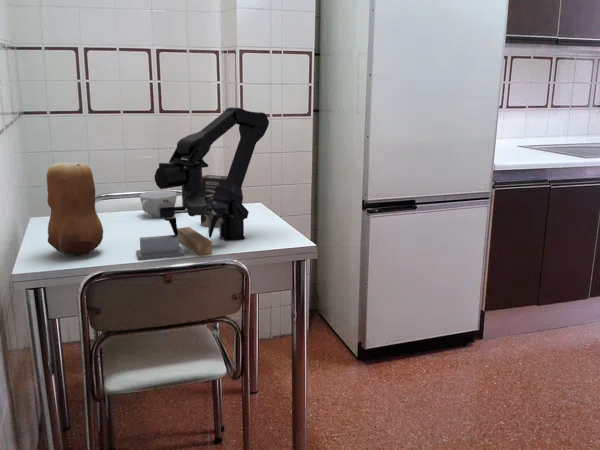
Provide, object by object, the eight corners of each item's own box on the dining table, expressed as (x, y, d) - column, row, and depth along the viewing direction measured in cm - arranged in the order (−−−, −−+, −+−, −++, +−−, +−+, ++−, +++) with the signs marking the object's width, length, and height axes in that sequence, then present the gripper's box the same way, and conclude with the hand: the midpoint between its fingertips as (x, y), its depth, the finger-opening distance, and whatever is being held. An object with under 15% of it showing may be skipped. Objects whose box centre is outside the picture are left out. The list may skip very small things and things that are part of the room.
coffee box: (200, 226, 187) (198, 177, 183) (207, 221, 193) (206, 174, 189) (226, 228, 185) (225, 178, 181) (233, 223, 191) (232, 175, 187)
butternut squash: (89, 244, 164) (83, 157, 158) (113, 254, 155) (107, 162, 149) (40, 253, 154) (31, 161, 148) (63, 264, 145) (54, 167, 140)
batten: (189, 239, 171) (189, 227, 170) (212, 255, 156) (211, 241, 155) (177, 241, 169) (176, 228, 169) (198, 257, 154) (197, 243, 153)
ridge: (180, 250, 160) (180, 232, 158) (184, 256, 154) (183, 238, 153) (136, 254, 155) (135, 236, 154) (138, 260, 150) (137, 241, 149)
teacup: (156, 210, 208) (155, 189, 206) (185, 214, 203) (184, 192, 201) (128, 219, 195) (127, 196, 193) (158, 223, 190) (156, 199, 188)
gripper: (161, 191, 148) (164, 249, 152) (232, 187, 154) (232, 243, 158) (156, 184, 158) (158, 238, 162) (222, 181, 165) (223, 233, 168)
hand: (193, 238), depth 162 cm, fingers open, 9 cm apart
